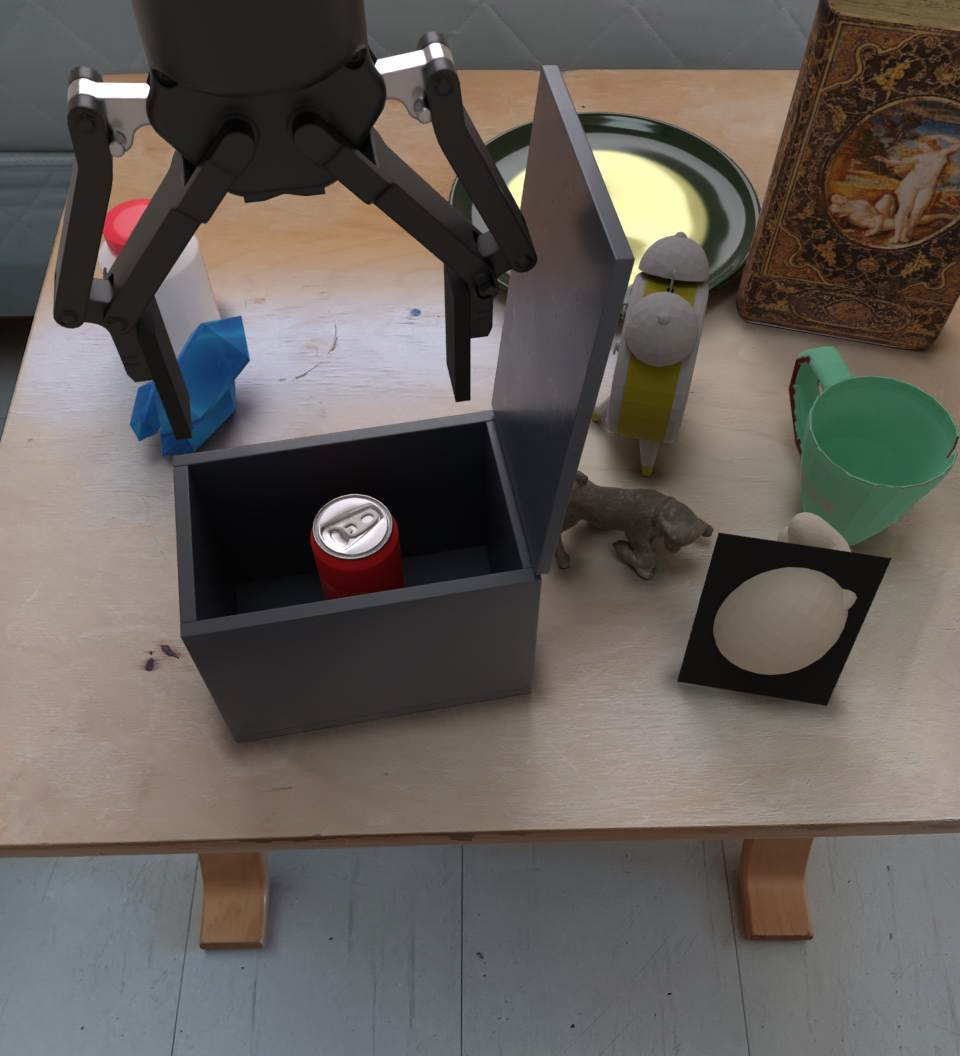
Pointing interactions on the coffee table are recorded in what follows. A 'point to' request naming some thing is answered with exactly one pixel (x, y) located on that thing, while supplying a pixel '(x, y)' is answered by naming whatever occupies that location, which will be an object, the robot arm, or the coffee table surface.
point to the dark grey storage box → (364, 620)
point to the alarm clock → (658, 346)
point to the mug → (865, 444)
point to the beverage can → (356, 547)
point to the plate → (649, 188)
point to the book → (865, 180)
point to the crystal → (198, 386)
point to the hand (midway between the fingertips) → (322, 400)
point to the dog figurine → (632, 521)
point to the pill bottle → (183, 289)
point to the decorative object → (781, 612)
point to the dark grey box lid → (557, 317)
